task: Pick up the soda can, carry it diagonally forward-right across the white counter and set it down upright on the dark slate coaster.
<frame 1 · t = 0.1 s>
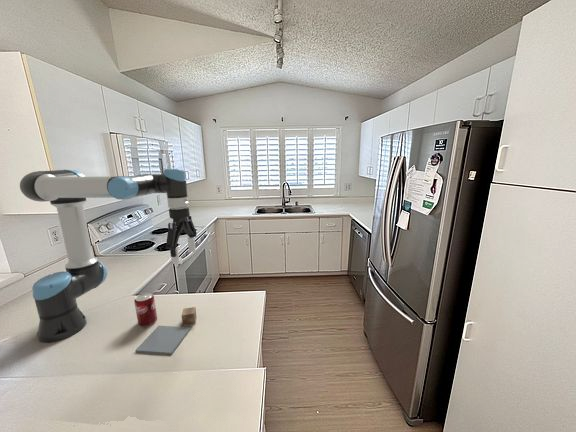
hand: (184, 257, 106), 28 cm above the worktop, fingers open, 13 cm apart
walnut block: (189, 321, 109), on the worktop
coaster: (164, 339, 98), on the worktop
soda can: (148, 322, 109), on the worktop
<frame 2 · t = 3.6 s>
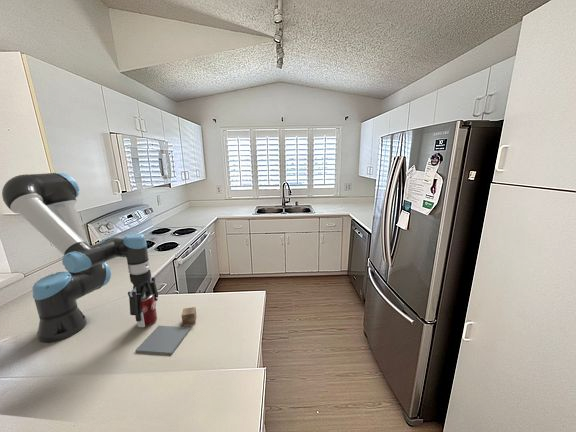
hand: (147, 320, 109), 1 cm above the worktop, fingers closed on soda can, 7 cm apart
soda can: (148, 322, 109), on the worktop, touching gripper
everything else where it was.
when the fingers open (3 cm above the worktop, at t = 8.9 s): soda can drops 1 cm, resting on coaster.
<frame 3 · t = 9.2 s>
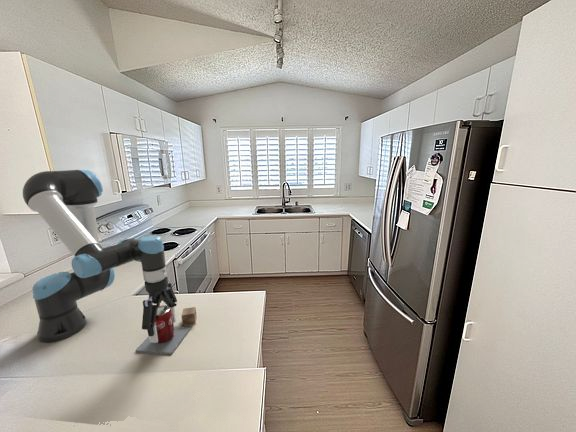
hand: (163, 331, 97), 4 cm above the worktop, fingers open, 11 cm apart
soda can: (164, 338, 97), point 1 cm above the worktop, touching coaster
everything else where it was.
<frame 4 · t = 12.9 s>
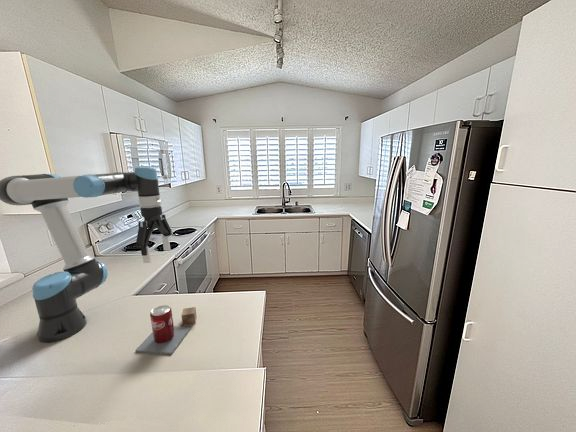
hand: (157, 256, 106), 29 cm above the worktop, fingers open, 13 cm apart
nothing on the worktop moved.
at the end: soda can inside the target area on the coaster (0.1 cm from its centre), point 0.6 cm above the coaster's base; soda can tilted 0°; the gripper is holding nothing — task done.
